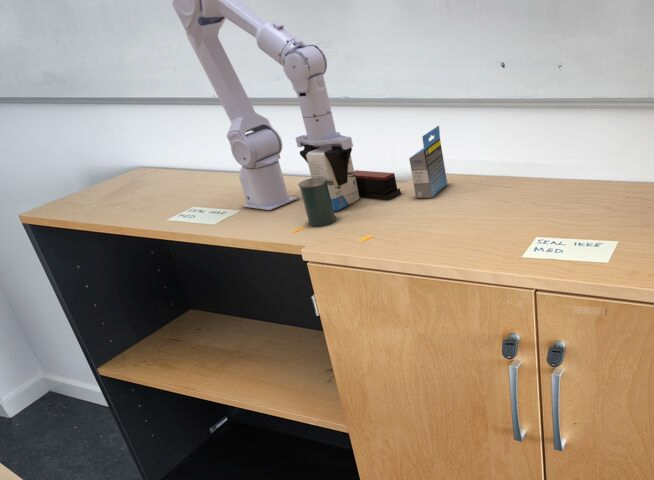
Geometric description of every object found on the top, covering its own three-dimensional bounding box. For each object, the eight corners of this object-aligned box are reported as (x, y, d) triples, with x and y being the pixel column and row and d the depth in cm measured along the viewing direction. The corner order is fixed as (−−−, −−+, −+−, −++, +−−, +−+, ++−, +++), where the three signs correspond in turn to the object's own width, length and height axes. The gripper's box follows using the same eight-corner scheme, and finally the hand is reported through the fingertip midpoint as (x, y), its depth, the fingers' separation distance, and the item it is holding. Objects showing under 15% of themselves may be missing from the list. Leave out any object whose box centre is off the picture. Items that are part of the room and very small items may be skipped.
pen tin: (303, 225, 134) (292, 184, 130) (323, 216, 138) (313, 176, 133) (321, 228, 131) (311, 186, 127) (341, 218, 134) (332, 178, 130)
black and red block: (348, 196, 148) (343, 175, 146) (361, 190, 150) (356, 169, 148) (388, 200, 141) (384, 178, 139) (401, 194, 143) (397, 172, 141)
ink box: (337, 212, 138) (324, 153, 132) (317, 211, 141) (304, 153, 135) (361, 198, 145) (349, 142, 139) (342, 197, 147) (330, 142, 141)
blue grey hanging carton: (431, 185, 146) (421, 126, 140) (448, 184, 145) (439, 125, 139) (415, 198, 139) (404, 137, 133) (432, 198, 138) (422, 136, 132)
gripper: (357, 109, 131) (371, 179, 138) (308, 109, 140) (324, 175, 147) (330, 118, 127) (346, 189, 134) (281, 117, 135) (299, 185, 142)
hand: (333, 182), depth 140 cm, fingers closed on ink box, 5 cm apart
